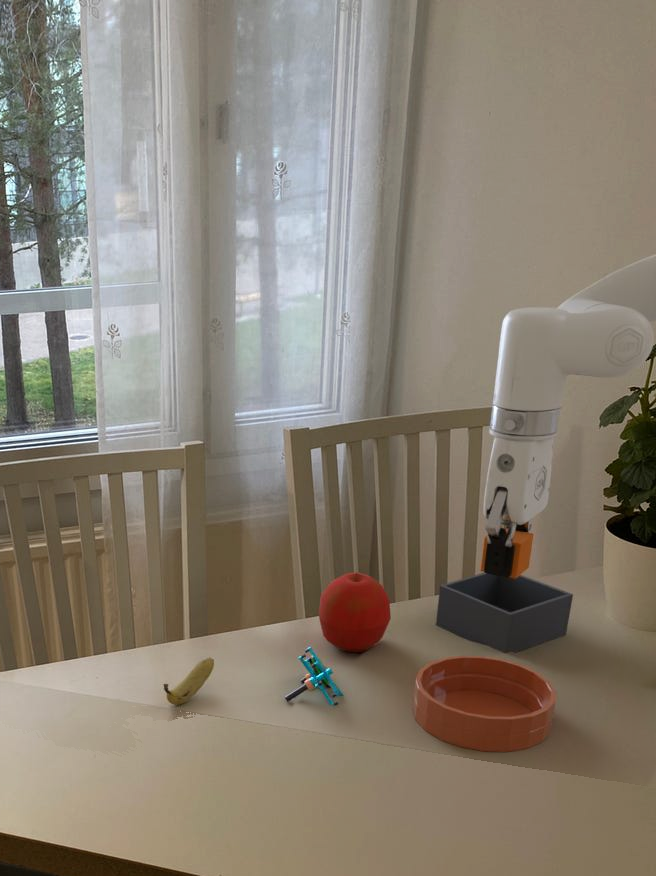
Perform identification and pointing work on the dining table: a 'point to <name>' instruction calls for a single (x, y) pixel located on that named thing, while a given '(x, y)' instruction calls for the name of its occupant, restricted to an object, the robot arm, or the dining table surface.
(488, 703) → the bowl
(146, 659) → the dining table surface
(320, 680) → the teal plastic assembly
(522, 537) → the block
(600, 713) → the dining table surface
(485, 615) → the bin
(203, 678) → the banana
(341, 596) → the apple
